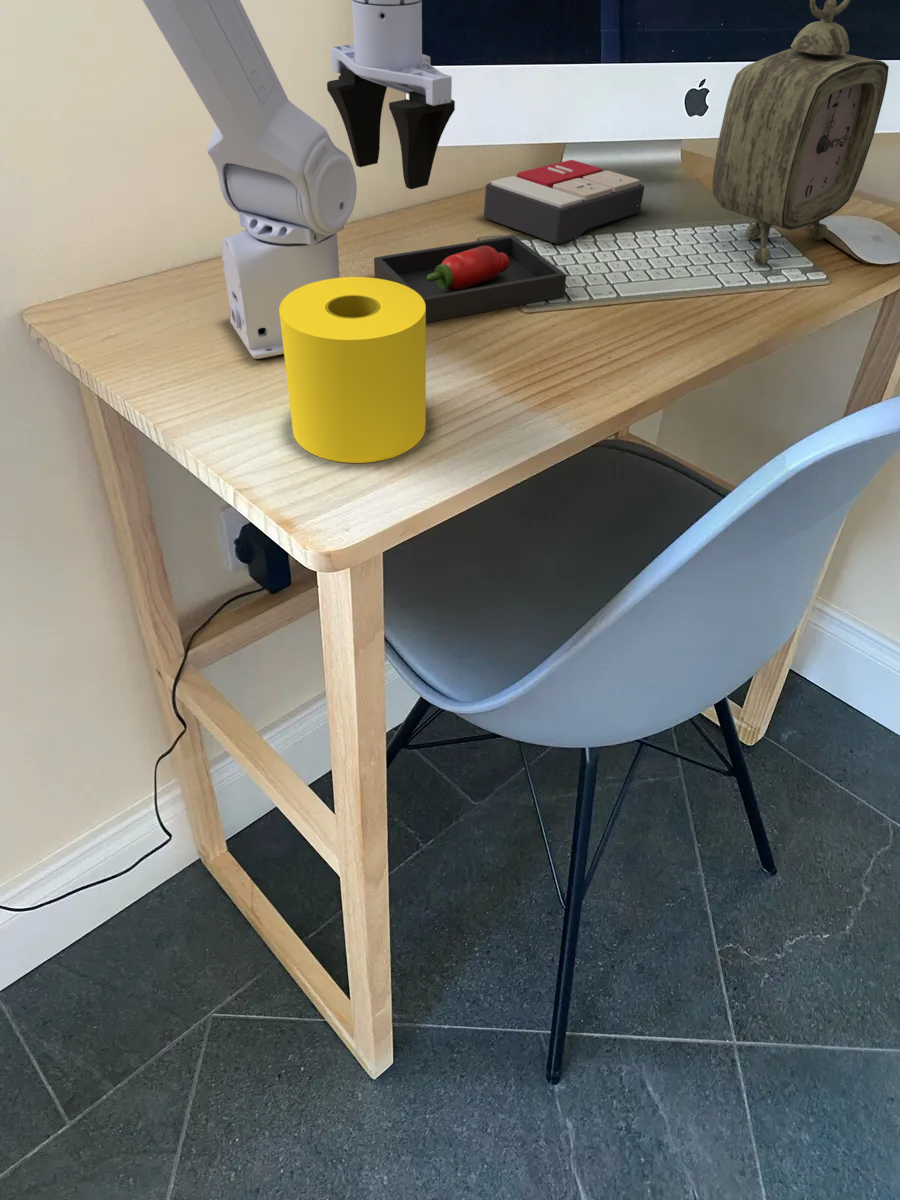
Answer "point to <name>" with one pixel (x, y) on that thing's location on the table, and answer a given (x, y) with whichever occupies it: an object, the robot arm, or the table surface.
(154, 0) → the robot arm
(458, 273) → the chili
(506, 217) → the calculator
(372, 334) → the yellow toilet paper roll
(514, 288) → the tray
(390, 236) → the table surface
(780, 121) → the tabletop clock
